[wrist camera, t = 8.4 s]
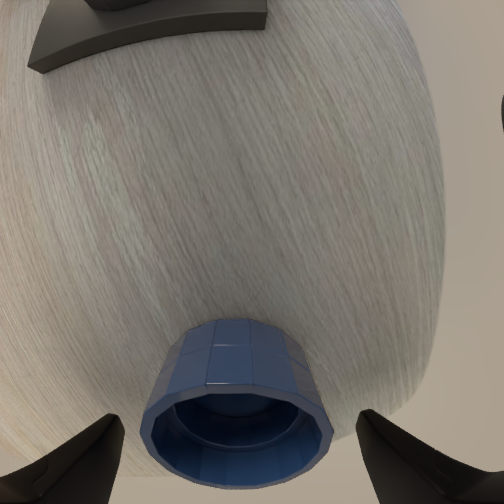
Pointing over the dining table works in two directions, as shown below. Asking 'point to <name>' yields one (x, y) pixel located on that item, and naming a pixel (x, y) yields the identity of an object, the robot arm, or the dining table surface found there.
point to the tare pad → (131, 24)
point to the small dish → (236, 408)
